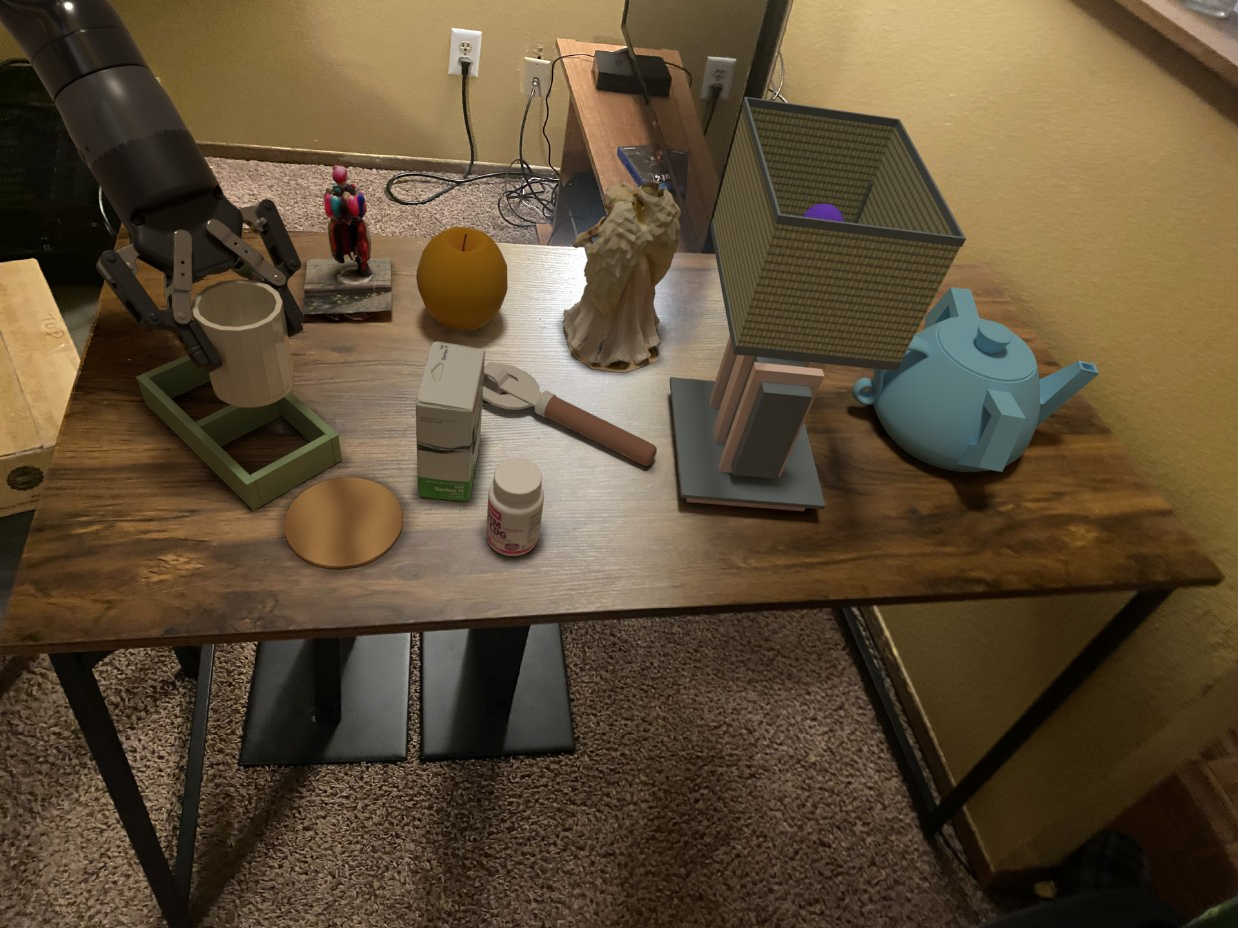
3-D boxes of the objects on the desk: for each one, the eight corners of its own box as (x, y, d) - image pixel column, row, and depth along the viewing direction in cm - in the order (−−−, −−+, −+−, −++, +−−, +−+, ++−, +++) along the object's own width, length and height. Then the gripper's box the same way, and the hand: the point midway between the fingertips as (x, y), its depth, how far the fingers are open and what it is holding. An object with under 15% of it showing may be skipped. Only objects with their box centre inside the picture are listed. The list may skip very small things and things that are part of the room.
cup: (221, 415, 67) (201, 337, 61) (204, 365, 70) (184, 287, 65) (303, 397, 70) (291, 320, 64) (283, 350, 73) (270, 273, 67)
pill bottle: (475, 544, 74) (478, 482, 68) (501, 508, 77) (505, 446, 71) (523, 565, 73) (530, 505, 67) (547, 528, 77) (556, 467, 71)
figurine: (567, 300, 101) (588, 142, 86) (662, 318, 101) (698, 164, 87) (551, 363, 92) (571, 200, 78) (655, 382, 93) (693, 224, 78)
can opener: (666, 438, 87) (672, 417, 85) (646, 475, 83) (651, 455, 81) (490, 369, 90) (491, 347, 88) (463, 402, 86) (463, 380, 84)
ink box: (470, 503, 77) (473, 411, 69) (416, 497, 77) (412, 404, 68) (482, 437, 83) (486, 344, 75) (432, 430, 83) (431, 337, 74)
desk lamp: (818, 528, 82) (970, 239, 58) (677, 517, 80) (774, 214, 56) (788, 400, 94) (902, 119, 70) (665, 389, 92) (740, 96, 69)
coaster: (302, 584, 69) (301, 581, 69) (271, 498, 74) (271, 495, 74) (419, 547, 73) (419, 544, 73) (382, 468, 79) (382, 465, 78)
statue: (309, 274, 99) (290, 146, 89) (391, 273, 101) (382, 149, 91) (303, 322, 91) (281, 189, 81) (392, 321, 93) (381, 190, 83)
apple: (431, 357, 90) (429, 265, 82) (407, 303, 96) (403, 212, 87) (516, 343, 94) (523, 254, 85) (488, 292, 99) (492, 204, 91)
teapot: (961, 511, 86) (1028, 415, 76) (822, 402, 95) (866, 303, 85) (1049, 441, 96) (1119, 348, 86) (916, 348, 105) (966, 254, 95)
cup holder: (342, 460, 78) (338, 434, 76) (253, 510, 73) (246, 484, 71) (234, 364, 85) (228, 337, 82) (145, 404, 80) (135, 376, 77)
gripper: (43, 155, 55) (182, 382, 59) (242, 105, 64) (351, 307, 68) (32, 193, 61) (159, 397, 65) (216, 143, 69) (318, 326, 73)
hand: (257, 350), depth 66 cm, fingers closed on cup, 6 cm apart
